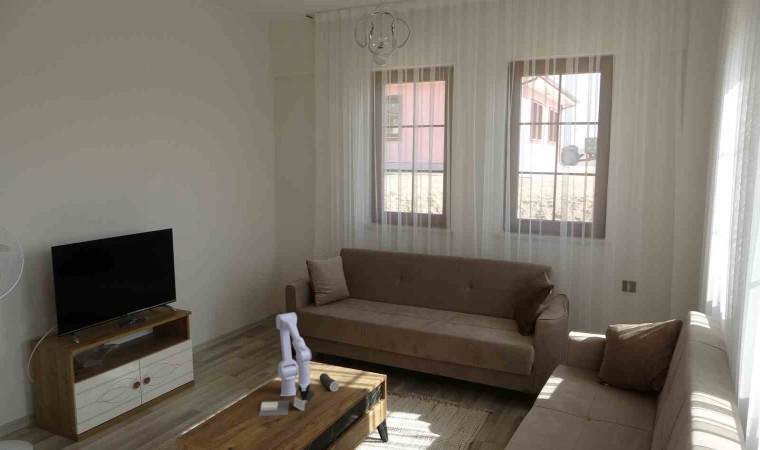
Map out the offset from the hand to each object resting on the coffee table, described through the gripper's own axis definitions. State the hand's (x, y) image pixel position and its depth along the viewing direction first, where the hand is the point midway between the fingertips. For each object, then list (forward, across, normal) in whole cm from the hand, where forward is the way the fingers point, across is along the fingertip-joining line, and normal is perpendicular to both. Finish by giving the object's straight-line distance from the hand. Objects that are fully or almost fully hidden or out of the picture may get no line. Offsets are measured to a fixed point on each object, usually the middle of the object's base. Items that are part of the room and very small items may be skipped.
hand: (304, 398), depth 287 cm
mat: (+5, 0, +15) cm, 16 cm away
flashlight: (+5, +26, -13) cm, 29 cm away
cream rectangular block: (+3, 0, +14) cm, 14 cm away
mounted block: (+1, 0, -2) cm, 3 cm away
